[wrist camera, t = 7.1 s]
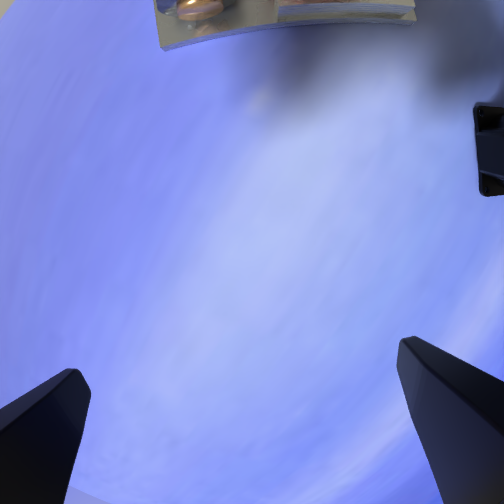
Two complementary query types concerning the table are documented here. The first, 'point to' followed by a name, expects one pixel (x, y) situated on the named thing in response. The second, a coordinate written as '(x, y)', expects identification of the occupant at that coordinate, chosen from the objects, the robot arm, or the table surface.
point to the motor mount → (266, 16)
